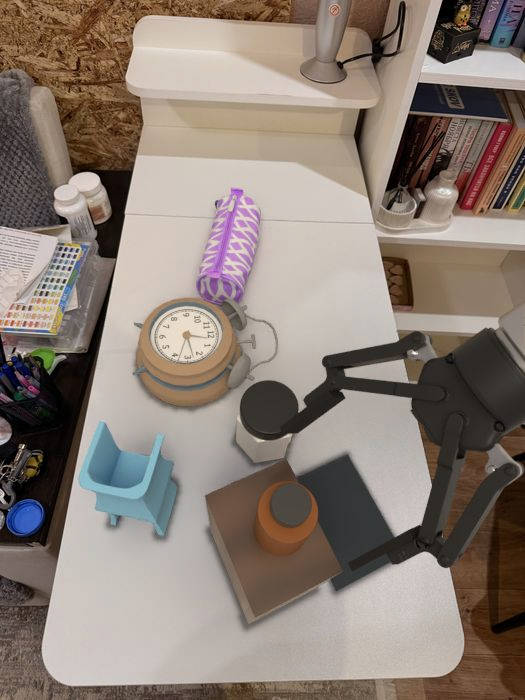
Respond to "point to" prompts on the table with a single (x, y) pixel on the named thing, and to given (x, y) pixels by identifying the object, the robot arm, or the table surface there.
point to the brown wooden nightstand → (252, 560)
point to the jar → (265, 420)
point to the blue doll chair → (129, 480)
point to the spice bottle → (285, 518)
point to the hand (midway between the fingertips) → (320, 493)
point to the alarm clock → (194, 351)
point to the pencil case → (229, 248)
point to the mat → (347, 517)
